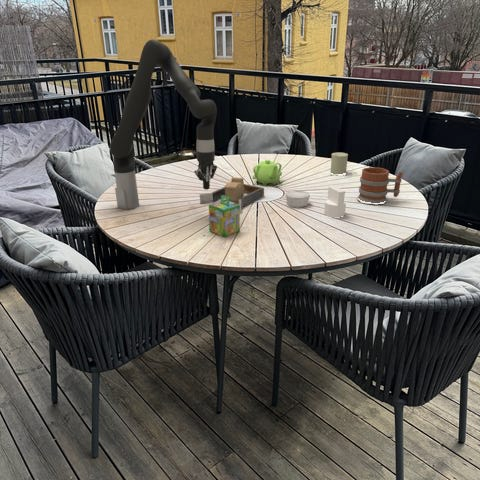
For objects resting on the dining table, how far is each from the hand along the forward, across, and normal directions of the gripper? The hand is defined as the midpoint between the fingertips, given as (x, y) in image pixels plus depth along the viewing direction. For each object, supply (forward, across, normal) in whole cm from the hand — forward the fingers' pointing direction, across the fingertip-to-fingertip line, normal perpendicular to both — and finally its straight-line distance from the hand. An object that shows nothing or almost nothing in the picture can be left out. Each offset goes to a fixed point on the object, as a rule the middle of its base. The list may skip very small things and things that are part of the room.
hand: (206, 189), depth 184 cm
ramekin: (+11, +34, -28) cm, 45 cm away
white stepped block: (+11, +31, -48) cm, 58 cm away
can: (+10, +91, -23) cm, 95 cm away
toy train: (+12, +21, 0) cm, 24 cm away
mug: (+10, +59, -57) cm, 83 cm away
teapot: (+11, +54, +2) cm, 55 cm away
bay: (+11, +21, 0) cm, 24 cm away
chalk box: (+12, -11, -18) cm, 24 cm away
